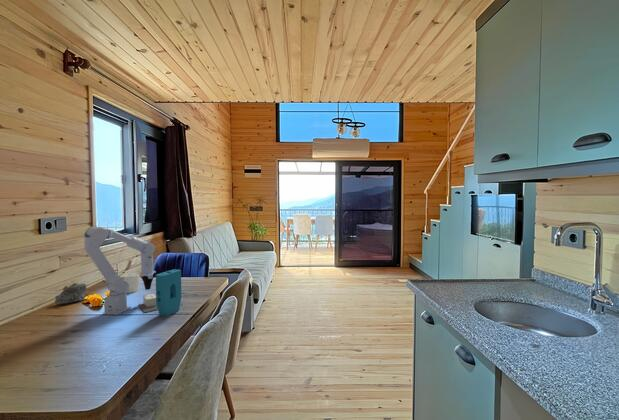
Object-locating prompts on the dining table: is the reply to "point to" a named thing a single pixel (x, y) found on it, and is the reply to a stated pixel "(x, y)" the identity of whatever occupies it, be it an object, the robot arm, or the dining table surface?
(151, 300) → the block
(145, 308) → the mat
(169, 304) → the block
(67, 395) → the dining table surface
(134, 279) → the white cup
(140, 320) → the dining table surface
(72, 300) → the mineral rock
